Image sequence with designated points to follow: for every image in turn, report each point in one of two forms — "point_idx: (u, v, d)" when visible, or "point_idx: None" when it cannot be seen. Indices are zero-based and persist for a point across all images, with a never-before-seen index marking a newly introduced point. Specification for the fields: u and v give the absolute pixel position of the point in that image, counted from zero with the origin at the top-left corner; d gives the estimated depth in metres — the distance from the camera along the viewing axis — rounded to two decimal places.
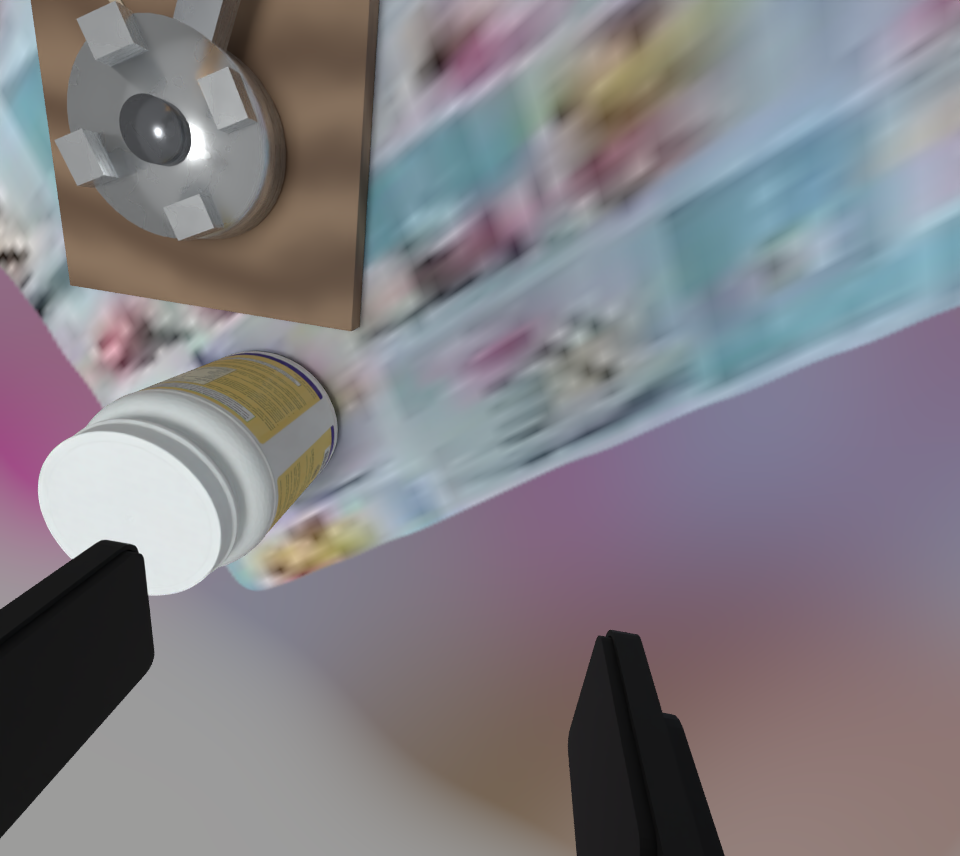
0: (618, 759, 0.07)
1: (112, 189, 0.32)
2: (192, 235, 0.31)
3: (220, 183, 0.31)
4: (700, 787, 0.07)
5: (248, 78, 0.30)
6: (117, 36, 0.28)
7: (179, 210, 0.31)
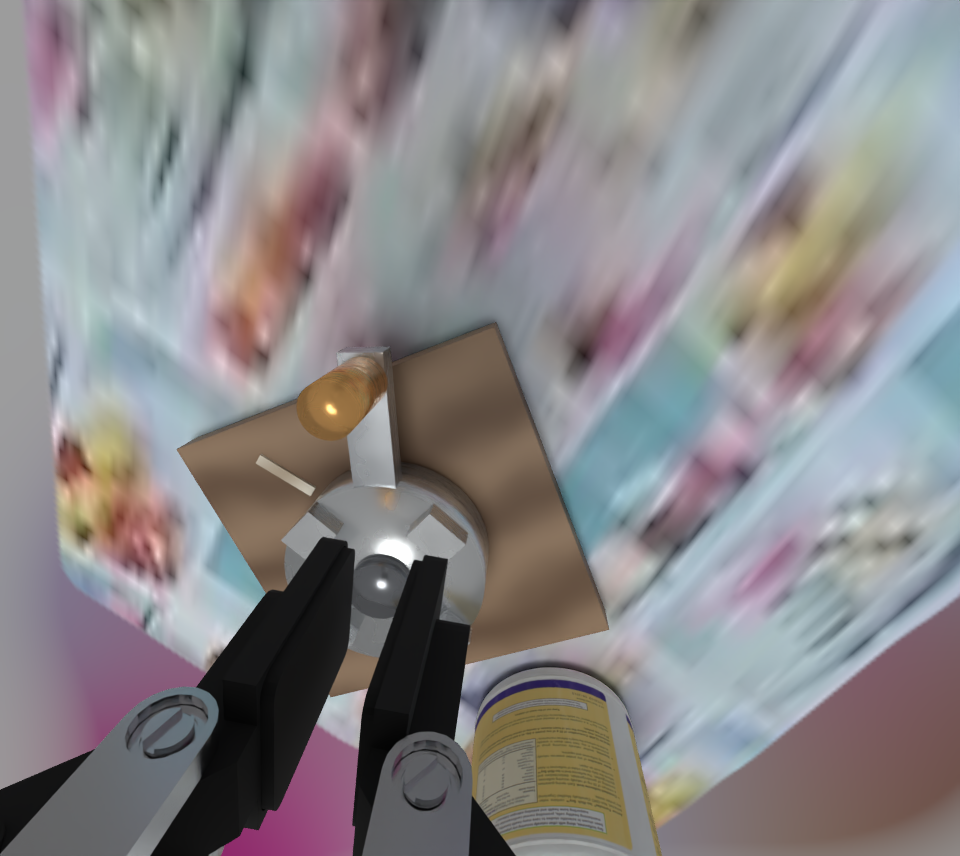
0: None
1: (356, 640, 0.31)
2: None
3: (453, 595, 0.30)
4: (461, 672, 0.09)
5: (433, 489, 0.29)
6: (321, 537, 0.27)
7: None
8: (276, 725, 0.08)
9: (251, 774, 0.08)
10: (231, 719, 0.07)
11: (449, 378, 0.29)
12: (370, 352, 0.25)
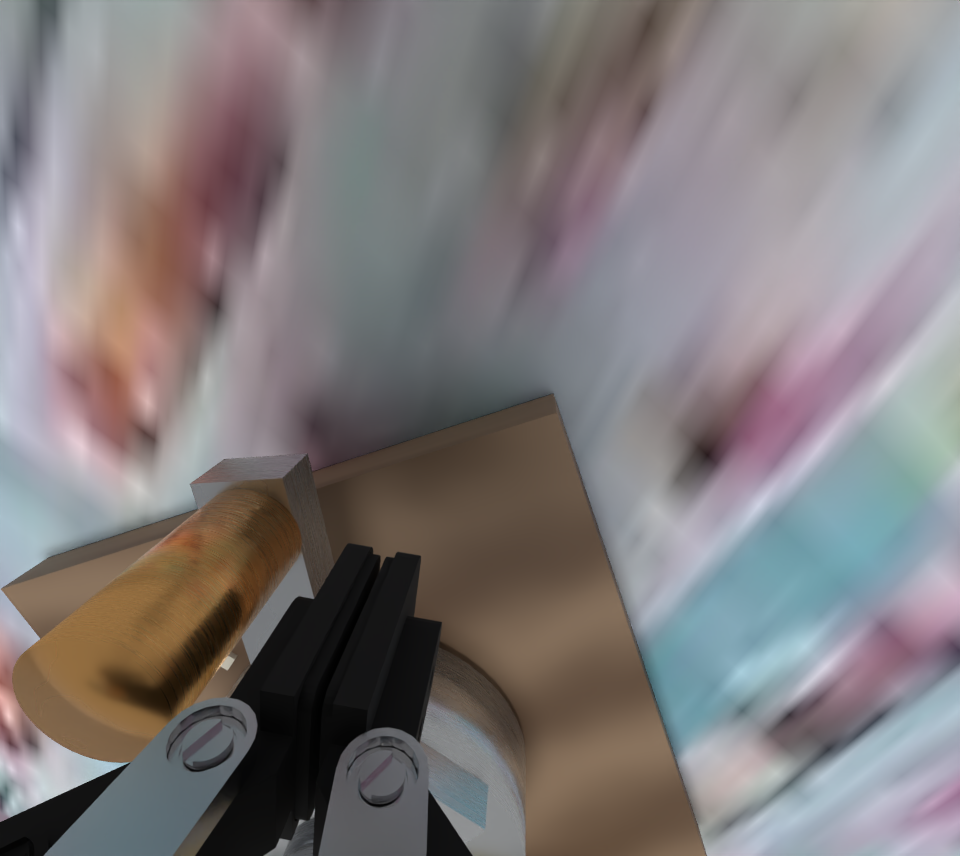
0: None
1: None
2: None
3: None
4: (428, 669, 0.09)
5: None
6: None
7: None
8: (311, 735, 0.08)
9: (287, 785, 0.07)
10: (268, 730, 0.07)
11: (469, 498, 0.16)
12: (258, 478, 0.12)
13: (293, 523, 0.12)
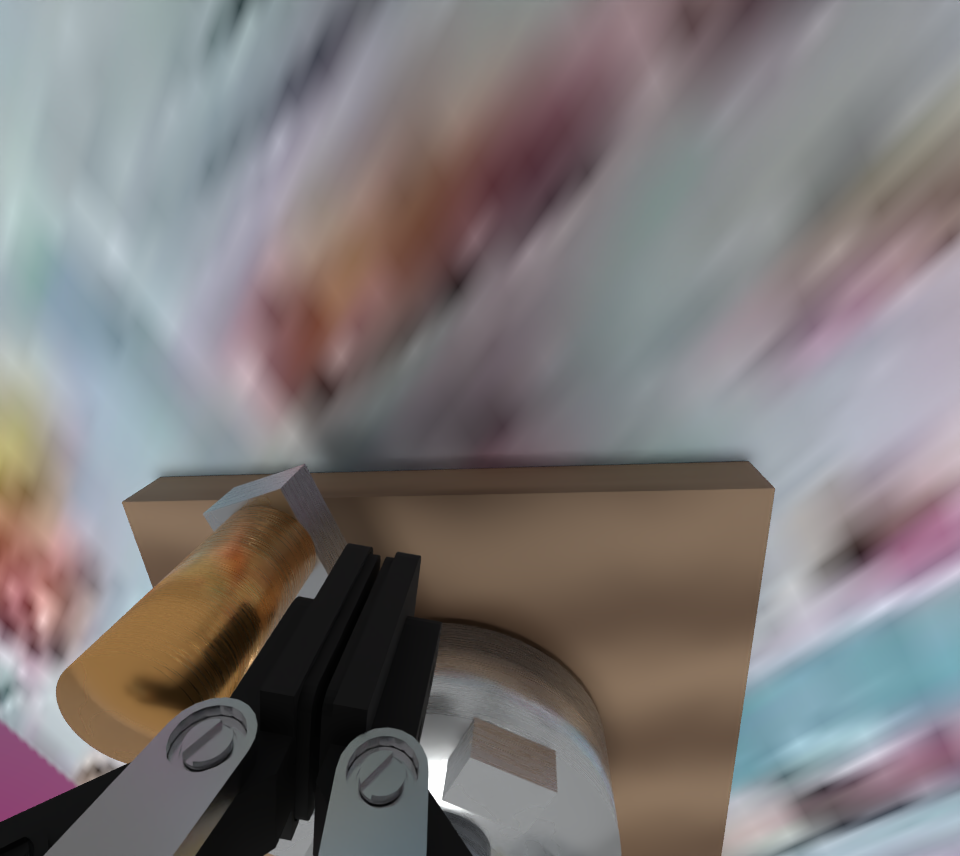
0: None
1: None
2: None
3: (564, 847, 0.16)
4: (428, 669, 0.09)
5: (470, 675, 0.16)
6: (299, 826, 0.15)
7: None
8: (311, 735, 0.08)
9: (287, 785, 0.07)
10: (268, 730, 0.07)
11: (654, 541, 0.16)
12: (260, 494, 0.13)
13: (301, 529, 0.13)
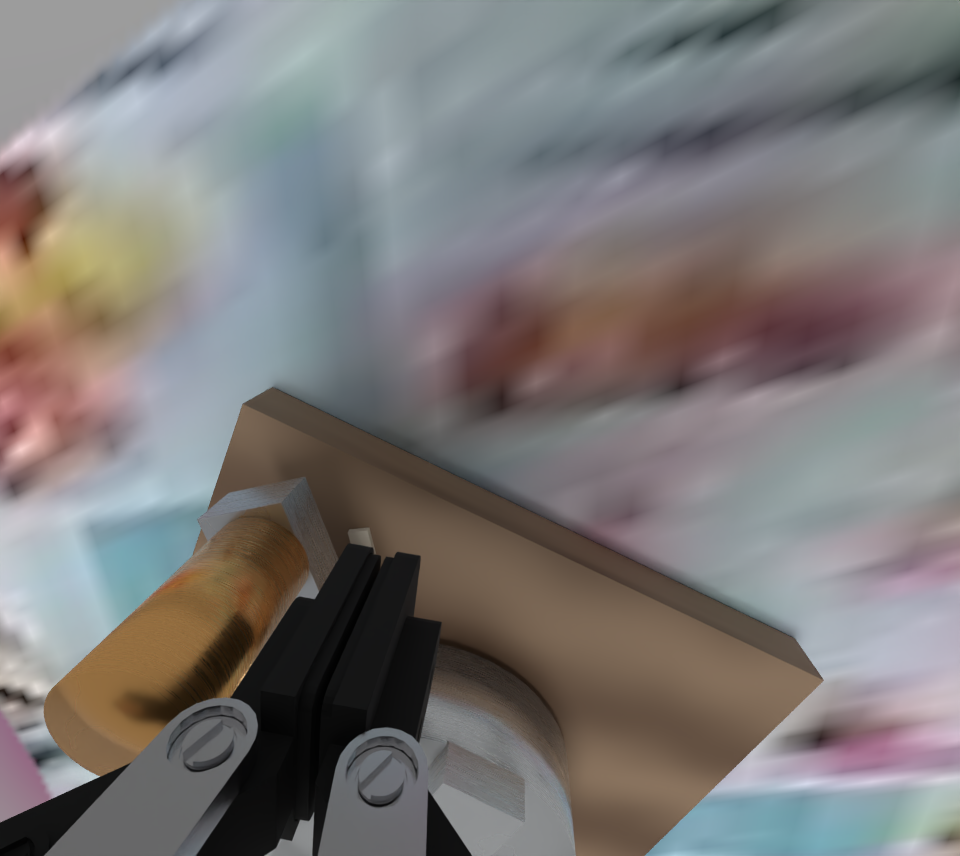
0: None
1: None
2: None
3: None
4: (428, 669, 0.09)
5: (446, 697, 0.16)
6: None
7: None
8: (312, 735, 0.08)
9: (288, 785, 0.07)
10: (268, 730, 0.07)
11: (708, 676, 0.18)
12: (259, 506, 0.13)
13: (297, 544, 0.13)
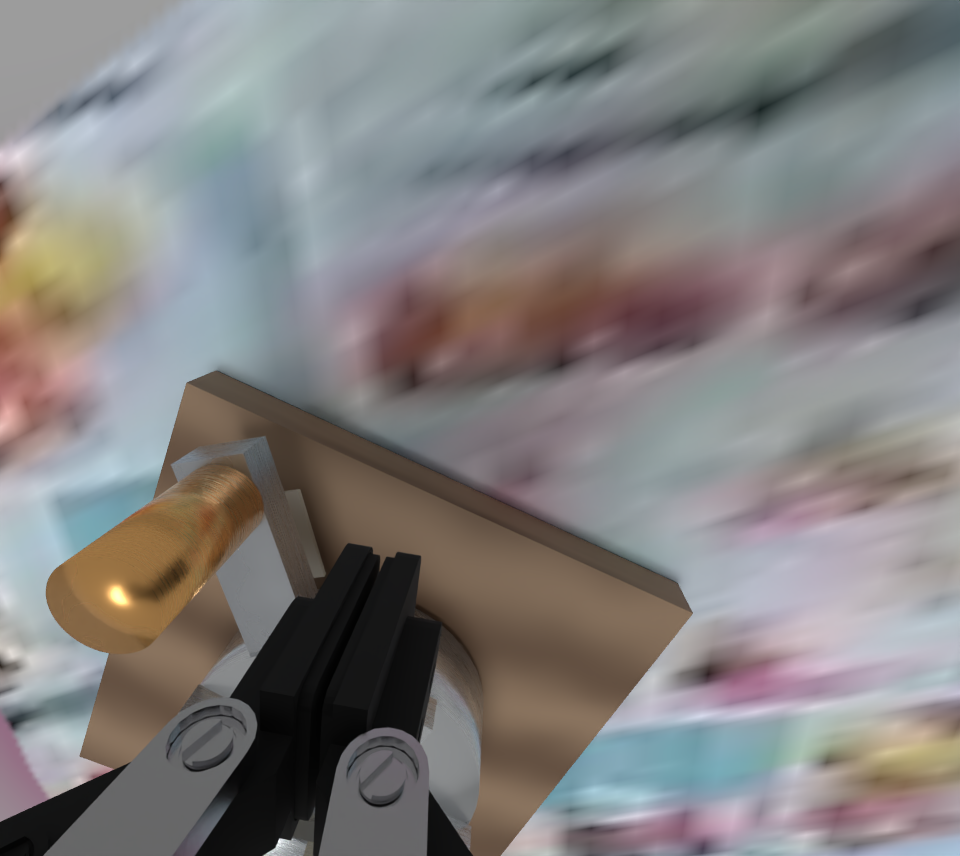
0: None
1: None
2: None
3: (433, 786, 0.19)
4: (428, 669, 0.09)
5: None
6: None
7: None
8: (311, 735, 0.08)
9: (287, 785, 0.07)
10: (268, 730, 0.07)
11: (596, 613, 0.21)
12: (224, 455, 0.15)
13: (255, 489, 0.16)
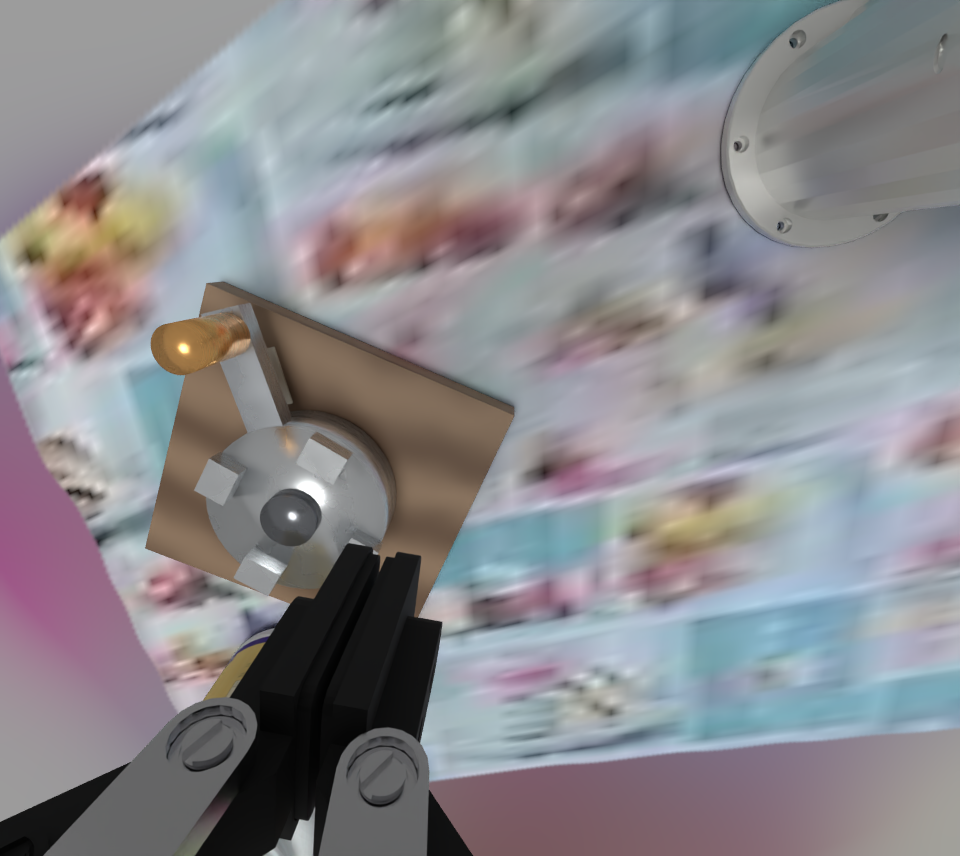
0: None
1: (288, 576, 0.35)
2: None
3: (357, 514, 0.33)
4: (428, 669, 0.09)
5: (320, 424, 0.33)
6: (226, 479, 0.31)
7: None
8: (311, 735, 0.08)
9: (287, 785, 0.07)
10: (267, 730, 0.07)
11: (457, 419, 0.35)
12: (228, 307, 0.29)
13: (245, 325, 0.29)
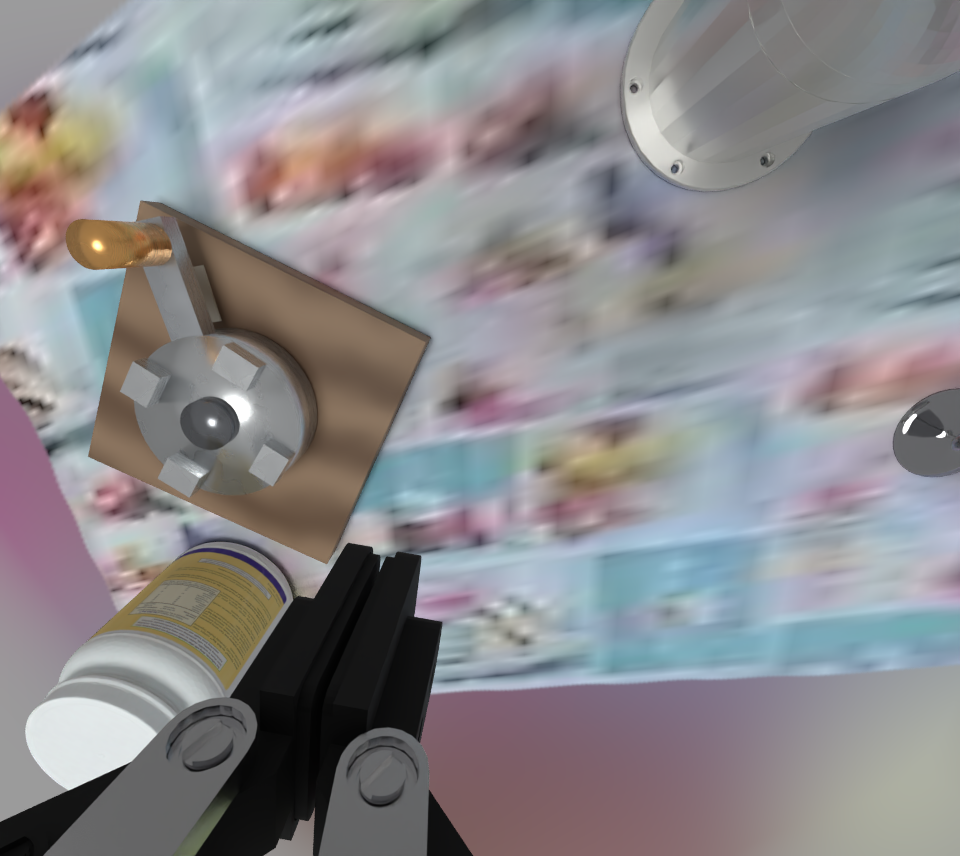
0: None
1: (211, 482, 0.38)
2: (279, 475, 0.36)
3: (272, 424, 0.36)
4: (428, 669, 0.09)
5: (241, 338, 0.35)
6: (148, 382, 0.34)
7: (259, 465, 0.35)
8: (311, 735, 0.08)
9: (287, 785, 0.07)
10: (268, 730, 0.07)
11: (373, 343, 0.37)
12: (151, 218, 0.32)
13: (166, 235, 0.32)
